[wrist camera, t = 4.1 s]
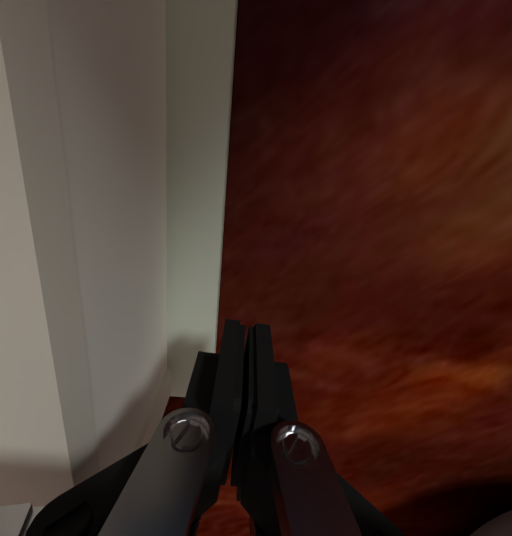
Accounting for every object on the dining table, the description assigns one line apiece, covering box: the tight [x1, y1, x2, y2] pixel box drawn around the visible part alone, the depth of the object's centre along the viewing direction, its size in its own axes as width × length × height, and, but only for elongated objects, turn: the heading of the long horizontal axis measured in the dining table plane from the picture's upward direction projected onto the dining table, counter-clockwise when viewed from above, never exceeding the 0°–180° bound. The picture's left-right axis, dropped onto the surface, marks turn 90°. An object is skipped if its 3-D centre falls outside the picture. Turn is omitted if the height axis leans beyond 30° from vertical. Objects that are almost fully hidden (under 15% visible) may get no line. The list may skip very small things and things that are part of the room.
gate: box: [0, 0, 171, 508], centre depth 9 cm, size 18×2×8 cm, turn 174°
